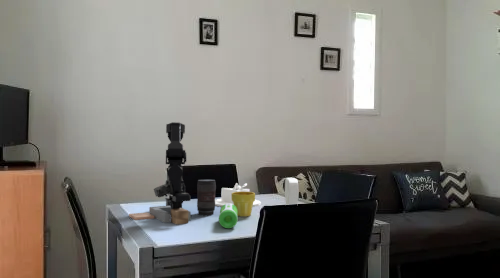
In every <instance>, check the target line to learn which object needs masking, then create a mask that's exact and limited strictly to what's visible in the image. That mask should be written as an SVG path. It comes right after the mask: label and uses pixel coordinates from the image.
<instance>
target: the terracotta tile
mask: <svg viewBox="0 0 500 278" xmlns="http://www.w3.org/2000/svg"><path fill="white" fill-rule="evenodd" d="M128 217H130V218H131V219H133V220H135V221H137V220H139V221H140V220H152V219H155V218H154V215H152V214H150V213H149V211H148V212H147V211H146V212H135V213H129V214H128Z"/></svg>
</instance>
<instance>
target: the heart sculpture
mask: <svg viewBox="0 0 500 278" xmlns="http://www.w3.org/2000/svg"><path fill="white" fill-rule="evenodd" d="M299 184H300V183H299V181H298V179H297V178H295V177H285V181H284V199H285V206H286V205H289V204H297V205H298V203H299V197H300V196H299V194H300V193H299V192H300V191H299V189H300V186H299Z"/></svg>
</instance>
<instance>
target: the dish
mask: <svg viewBox="0 0 500 278" xmlns="http://www.w3.org/2000/svg"><path fill="white" fill-rule="evenodd" d="M246 186H248V183H247V182H246V183H244V184H243V185H239V183H237V182H236V183H235V185H234V187H233V188H230V187H229V188H228V187H222V188H221V193H220V194H221V197H220V198H215V207H219V206H220V208H221V207H222V206H223V205H225V204H227V203H231V204H233V201H232V193H233V192H251V191H250V190H251V189H250V188H244V187H246ZM233 205H234V204H233ZM260 205H262V202H261V201H260V200H258V199H255V201H254V202H253V207H252V208H254V207H259V206H260Z"/></svg>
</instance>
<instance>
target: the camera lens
mask: <svg viewBox="0 0 500 278" xmlns="http://www.w3.org/2000/svg"><path fill="white" fill-rule="evenodd" d="M196 187H197V189H196V190H197V199H196V200H197V201H196V208H197V212H198V215H199V216H212V215H214V213H215V208H216V206H215V200H216V189H217V185H216V180H215V179H198V180H197V185H196Z"/></svg>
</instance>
